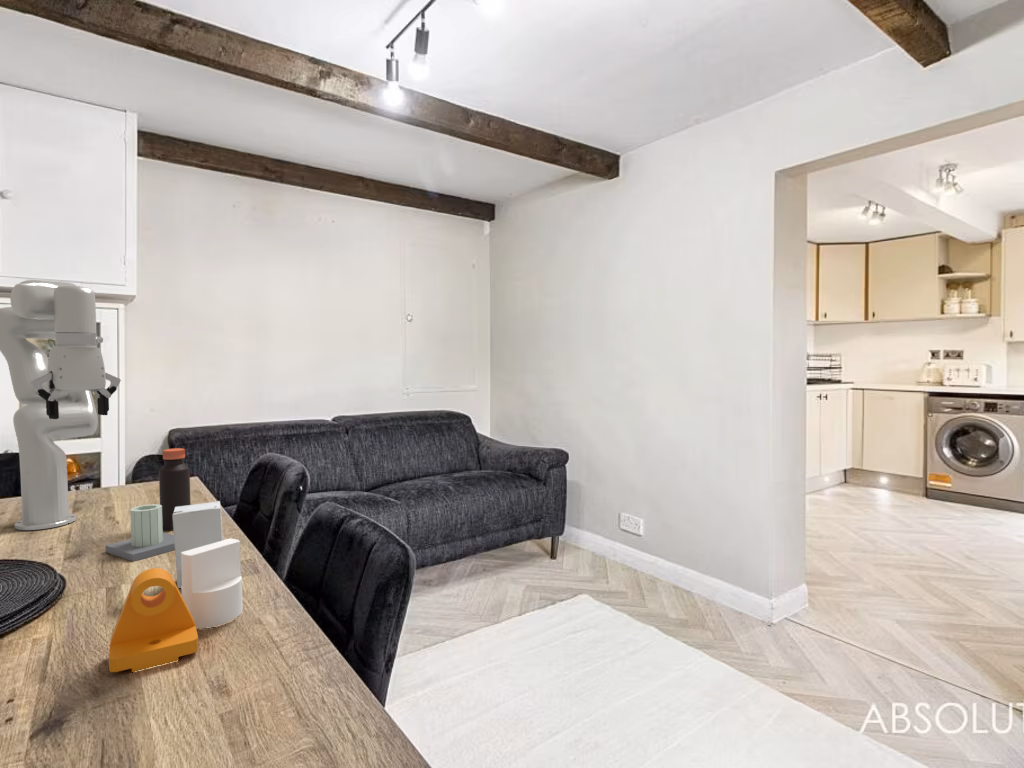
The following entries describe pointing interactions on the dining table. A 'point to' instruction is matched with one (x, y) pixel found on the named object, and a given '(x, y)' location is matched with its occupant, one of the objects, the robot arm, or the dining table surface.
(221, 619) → the cylinder with rectangular tab
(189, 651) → the bracket
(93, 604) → the dining table surface
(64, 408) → the robot arm
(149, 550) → the roll stand
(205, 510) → the skincare box
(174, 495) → the bottle
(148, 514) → the sage tube
